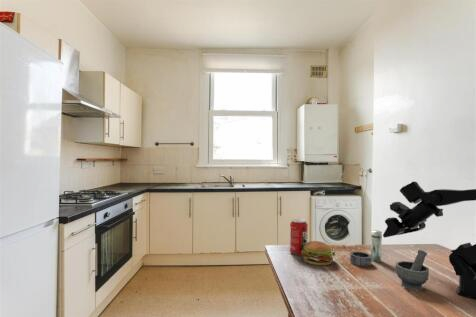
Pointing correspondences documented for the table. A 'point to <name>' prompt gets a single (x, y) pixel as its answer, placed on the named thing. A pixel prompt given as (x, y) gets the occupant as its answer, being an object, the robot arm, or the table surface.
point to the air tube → (376, 245)
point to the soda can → (298, 235)
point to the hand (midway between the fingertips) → (390, 235)
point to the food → (317, 253)
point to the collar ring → (361, 259)
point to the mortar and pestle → (413, 272)
